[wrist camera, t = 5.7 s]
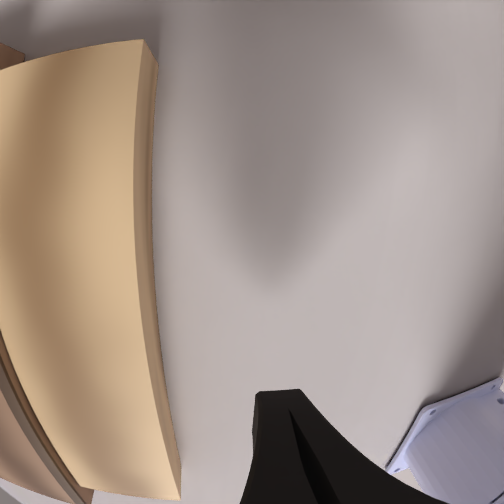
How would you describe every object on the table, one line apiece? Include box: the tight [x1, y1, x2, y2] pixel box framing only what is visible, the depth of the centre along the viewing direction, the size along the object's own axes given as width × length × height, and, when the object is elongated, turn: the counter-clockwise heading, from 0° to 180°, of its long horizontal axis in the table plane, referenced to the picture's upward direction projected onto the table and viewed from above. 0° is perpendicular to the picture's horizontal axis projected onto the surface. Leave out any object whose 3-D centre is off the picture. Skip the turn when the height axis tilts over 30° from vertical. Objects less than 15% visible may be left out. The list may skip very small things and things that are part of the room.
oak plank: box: [0, 39, 181, 500], centre depth 10 cm, size 6×20×3 cm, turn 177°
